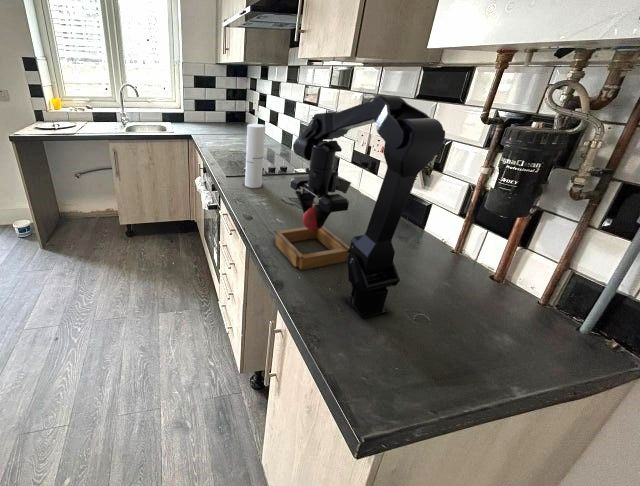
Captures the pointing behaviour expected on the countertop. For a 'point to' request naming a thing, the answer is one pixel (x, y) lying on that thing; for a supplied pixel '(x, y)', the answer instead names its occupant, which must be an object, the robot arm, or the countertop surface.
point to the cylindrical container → (254, 155)
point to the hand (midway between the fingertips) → (313, 222)
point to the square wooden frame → (311, 260)
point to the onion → (310, 219)
